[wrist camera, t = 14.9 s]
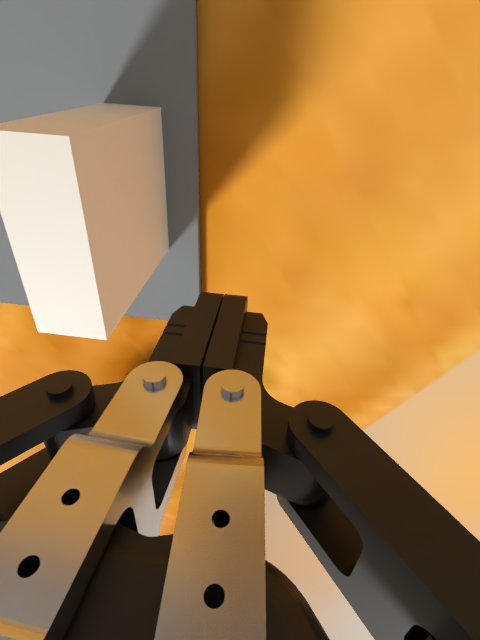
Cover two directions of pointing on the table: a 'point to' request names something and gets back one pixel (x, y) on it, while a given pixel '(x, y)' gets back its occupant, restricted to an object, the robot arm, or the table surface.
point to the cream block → (84, 212)
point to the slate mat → (117, 88)
